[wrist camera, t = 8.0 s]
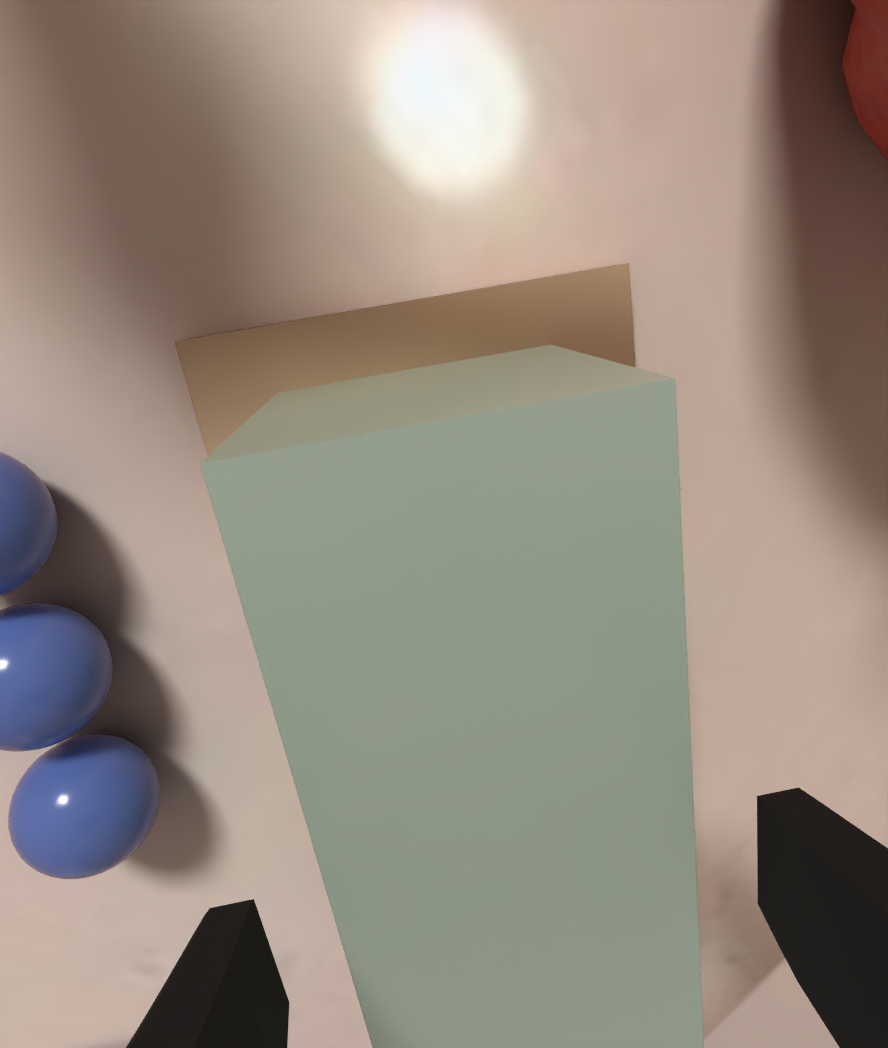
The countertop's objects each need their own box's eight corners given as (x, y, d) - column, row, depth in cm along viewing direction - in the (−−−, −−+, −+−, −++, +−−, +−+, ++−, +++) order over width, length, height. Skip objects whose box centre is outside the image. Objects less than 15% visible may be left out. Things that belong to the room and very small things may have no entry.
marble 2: (150, 683, 16) (98, 767, 13) (23, 707, 16) (-56, 797, 13) (108, 569, 15) (44, 633, 12) (-27, 593, 15) (-125, 664, 12)
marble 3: (191, 795, 17) (152, 896, 14) (73, 819, 17) (11, 924, 14) (155, 697, 16) (106, 784, 13) (29, 721, 16) (-48, 813, 13)
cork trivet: (658, 855, 19) (666, 873, 18) (348, 918, 19) (347, 937, 18) (618, 264, 14) (628, 263, 13) (183, 340, 13) (174, 341, 13)
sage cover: (602, 837, 18) (705, 1090, 12) (396, 879, 18) (404, 1154, 12) (550, 344, 13) (675, 378, 8) (277, 392, 13) (199, 463, 8)
